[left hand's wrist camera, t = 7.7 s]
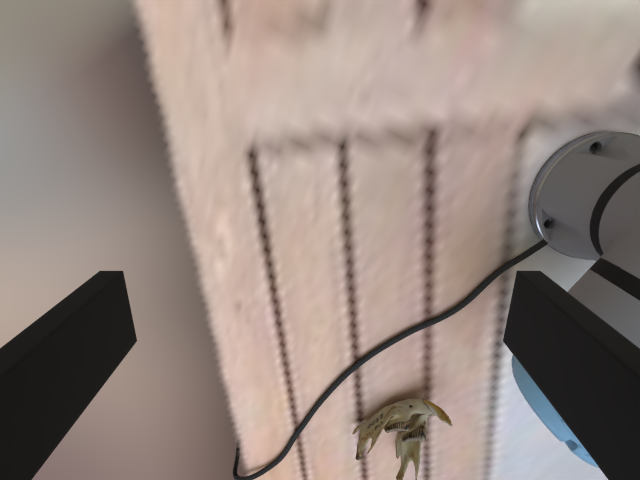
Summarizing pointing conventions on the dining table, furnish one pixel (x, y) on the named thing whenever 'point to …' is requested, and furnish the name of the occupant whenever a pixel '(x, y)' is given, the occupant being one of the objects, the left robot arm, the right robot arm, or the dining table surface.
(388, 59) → the dining table surface
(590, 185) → the left robot arm
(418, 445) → the jawbone
